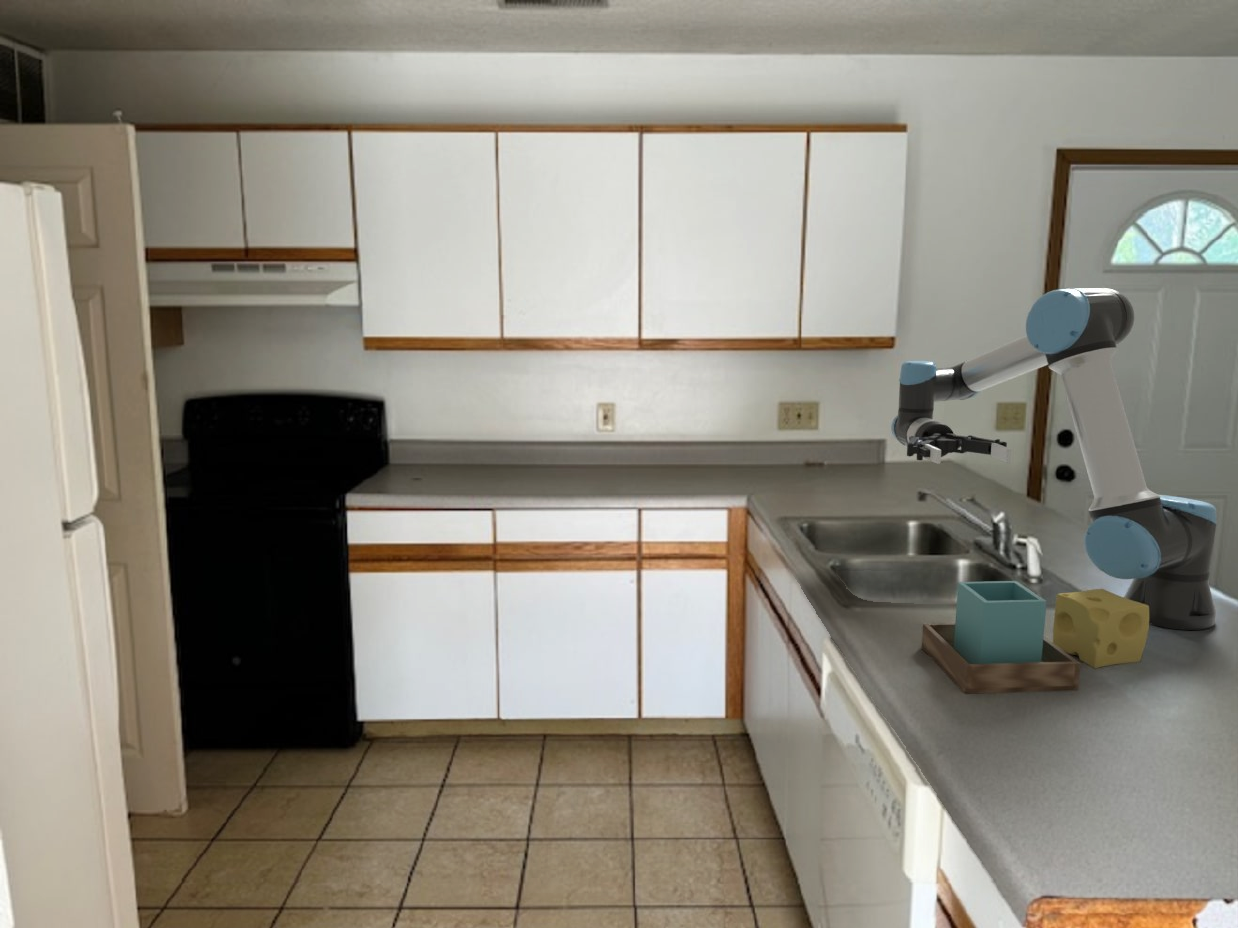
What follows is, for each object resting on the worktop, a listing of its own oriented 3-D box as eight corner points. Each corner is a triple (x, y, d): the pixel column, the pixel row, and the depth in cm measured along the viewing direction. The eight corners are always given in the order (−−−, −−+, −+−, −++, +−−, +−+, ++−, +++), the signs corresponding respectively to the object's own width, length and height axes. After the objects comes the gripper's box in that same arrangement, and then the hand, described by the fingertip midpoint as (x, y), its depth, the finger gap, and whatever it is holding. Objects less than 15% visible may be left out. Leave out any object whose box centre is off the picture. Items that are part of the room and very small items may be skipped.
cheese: (1094, 669, 148) (1100, 612, 146) (1047, 645, 158) (1052, 591, 156) (1145, 662, 151) (1152, 605, 149) (1096, 638, 161) (1102, 585, 159)
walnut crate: (1021, 645, 158) (1023, 621, 157) (1077, 690, 140) (1080, 663, 139) (921, 647, 157) (922, 623, 156) (964, 693, 140) (966, 666, 139)
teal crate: (1010, 650, 154) (1016, 580, 151) (1040, 675, 144) (1046, 601, 142) (953, 651, 153) (958, 582, 151) (978, 676, 144) (984, 602, 141)
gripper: (986, 454, 195) (1035, 474, 174) (873, 456, 194) (908, 476, 173) (988, 420, 193) (1038, 436, 172) (874, 421, 192) (911, 438, 171)
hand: (973, 456), depth 173 cm, fingers open, 13 cm apart
